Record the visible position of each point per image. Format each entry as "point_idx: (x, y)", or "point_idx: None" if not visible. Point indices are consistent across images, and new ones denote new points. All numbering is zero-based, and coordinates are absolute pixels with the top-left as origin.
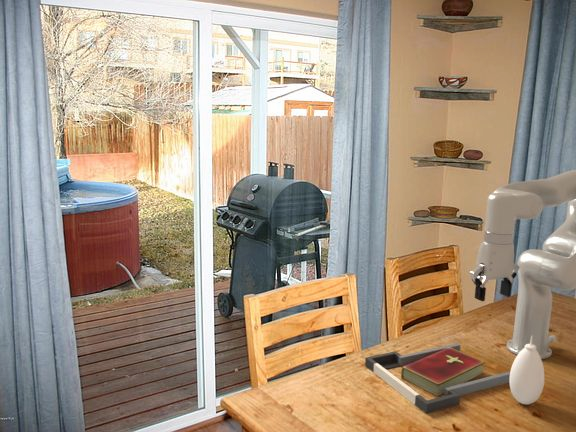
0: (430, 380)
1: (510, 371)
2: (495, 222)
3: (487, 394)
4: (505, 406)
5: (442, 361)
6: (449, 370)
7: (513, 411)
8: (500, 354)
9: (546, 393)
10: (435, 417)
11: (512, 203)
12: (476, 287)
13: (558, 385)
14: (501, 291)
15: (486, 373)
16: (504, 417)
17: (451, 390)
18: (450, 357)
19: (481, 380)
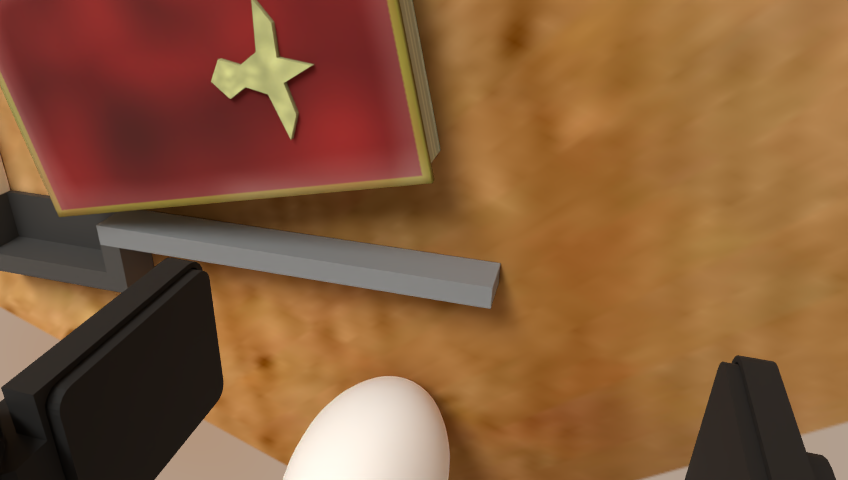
0: (39, 172)
1: (309, 441)
2: None
3: (311, 287)
4: (314, 371)
5: (196, 48)
6: (174, 149)
7: (316, 402)
8: (799, 27)
9: (561, 415)
10: (34, 279)
11: None
12: (5, 413)
13: (691, 416)
14: (722, 408)
15: (463, 163)
16: (258, 402)
17: (114, 252)
18: (261, 43)
19: (293, 269)
